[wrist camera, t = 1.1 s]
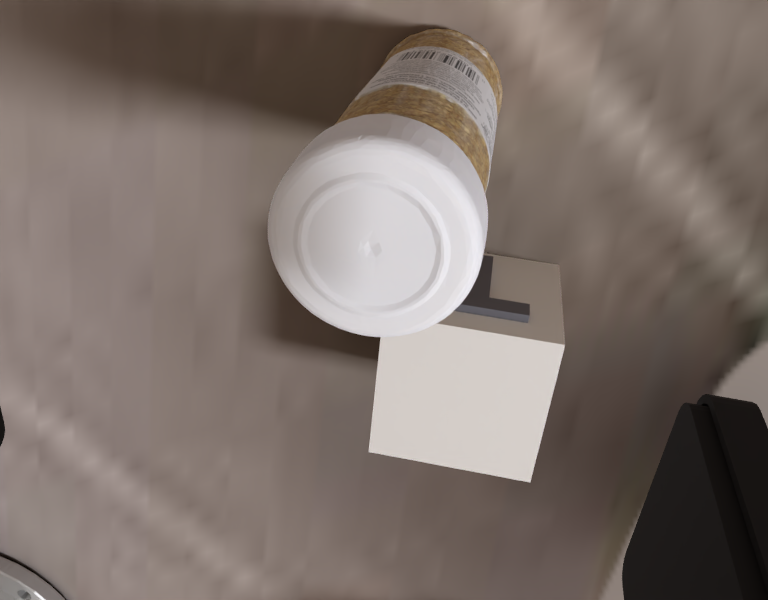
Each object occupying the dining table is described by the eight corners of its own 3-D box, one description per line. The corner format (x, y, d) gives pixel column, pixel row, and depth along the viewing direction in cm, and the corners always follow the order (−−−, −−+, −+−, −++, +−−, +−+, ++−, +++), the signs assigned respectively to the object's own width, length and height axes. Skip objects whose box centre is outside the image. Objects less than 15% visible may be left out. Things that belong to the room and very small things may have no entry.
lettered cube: (530, 386, 32) (530, 482, 27) (394, 362, 33) (368, 452, 27) (560, 257, 29) (567, 337, 24) (409, 233, 29) (384, 306, 24)
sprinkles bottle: (356, 110, 27) (226, 272, 16) (421, -2, 25) (324, 91, 13) (459, 176, 28) (406, 381, 16) (532, 73, 26) (530, 224, 14)
